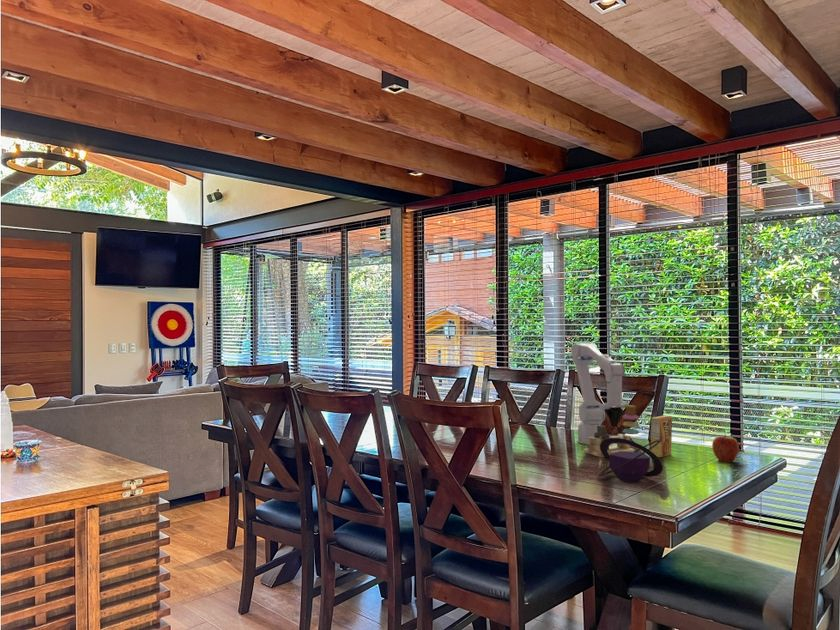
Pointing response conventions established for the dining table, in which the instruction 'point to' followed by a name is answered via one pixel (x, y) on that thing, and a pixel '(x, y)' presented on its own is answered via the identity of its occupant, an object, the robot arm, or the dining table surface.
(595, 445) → the pipe stand
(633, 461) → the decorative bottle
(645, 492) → the dining table surface
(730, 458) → the apple
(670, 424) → the candy box
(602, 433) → the dark grey z bracket
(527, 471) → the dining table surface
